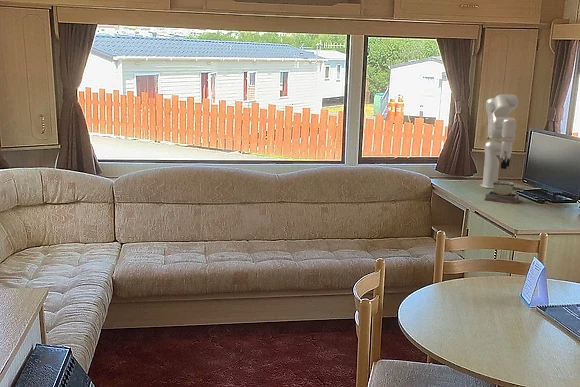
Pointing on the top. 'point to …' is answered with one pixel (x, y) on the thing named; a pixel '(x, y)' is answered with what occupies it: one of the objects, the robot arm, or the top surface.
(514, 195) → the cradle
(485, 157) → the robot arm
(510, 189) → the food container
